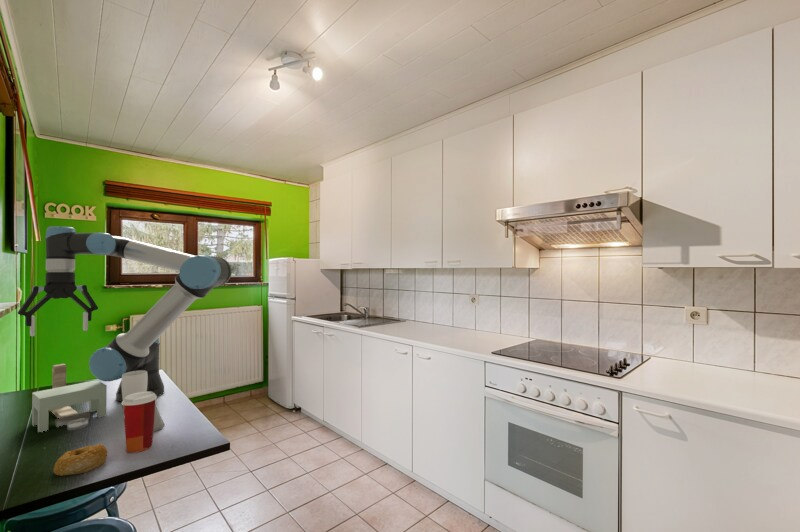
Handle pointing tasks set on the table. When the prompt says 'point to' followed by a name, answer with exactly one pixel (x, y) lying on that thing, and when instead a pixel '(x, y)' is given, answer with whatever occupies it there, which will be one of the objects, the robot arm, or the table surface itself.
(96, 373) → the robot arm
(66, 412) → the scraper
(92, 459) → the bagel
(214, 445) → the table surface
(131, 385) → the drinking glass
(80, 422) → the steel disc
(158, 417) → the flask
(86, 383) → the white bridge stand
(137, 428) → the paper cup
